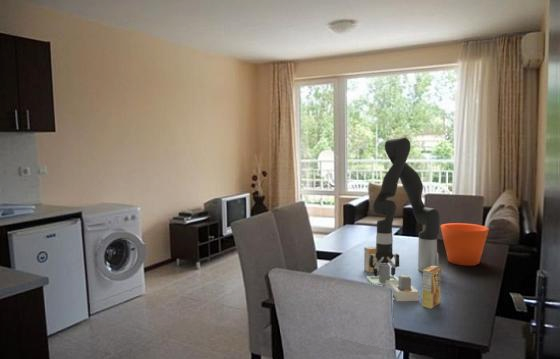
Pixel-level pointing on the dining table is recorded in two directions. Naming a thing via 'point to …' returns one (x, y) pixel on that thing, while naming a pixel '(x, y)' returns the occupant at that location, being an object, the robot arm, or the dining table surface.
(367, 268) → the supplement box
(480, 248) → the flowerpot
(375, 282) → the tray
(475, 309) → the dining table surface
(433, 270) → the candy box
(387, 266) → the plug
